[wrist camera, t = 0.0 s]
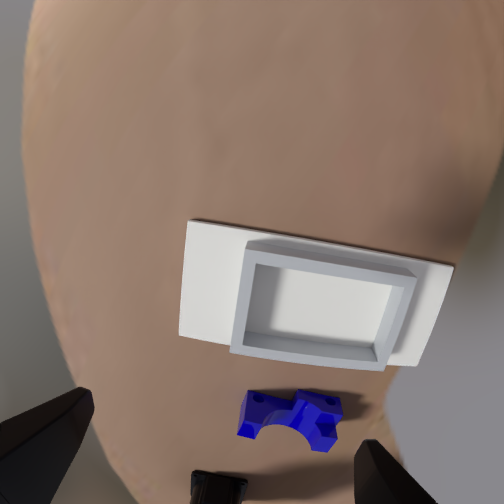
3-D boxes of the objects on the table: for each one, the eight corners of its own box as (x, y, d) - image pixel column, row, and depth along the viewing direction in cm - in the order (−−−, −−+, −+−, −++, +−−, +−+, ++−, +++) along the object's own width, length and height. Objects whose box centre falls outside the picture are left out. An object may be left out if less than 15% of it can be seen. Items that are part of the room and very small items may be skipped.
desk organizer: (414, 362, 24) (424, 379, 21) (180, 331, 24) (171, 348, 22) (450, 265, 21) (466, 276, 19) (189, 219, 22) (179, 226, 19)
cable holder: (339, 396, 26) (345, 427, 22) (323, 421, 27) (327, 452, 23) (253, 376, 25) (249, 407, 22) (241, 403, 26) (236, 434, 23)
